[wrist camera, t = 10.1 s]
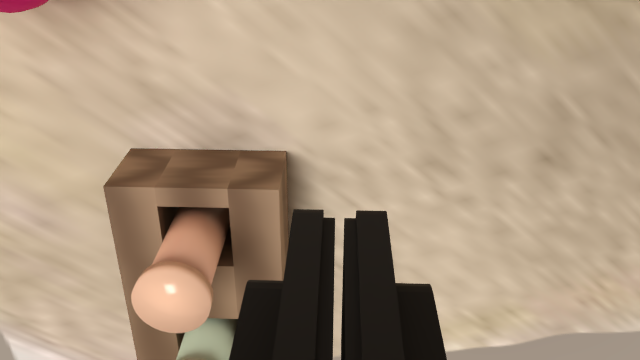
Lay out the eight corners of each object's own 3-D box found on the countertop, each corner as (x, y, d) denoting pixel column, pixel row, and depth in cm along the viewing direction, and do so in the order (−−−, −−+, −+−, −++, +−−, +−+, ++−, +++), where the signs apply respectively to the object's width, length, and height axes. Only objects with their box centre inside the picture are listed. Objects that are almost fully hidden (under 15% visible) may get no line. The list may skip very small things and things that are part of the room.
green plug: (246, 275, 51) (225, 369, 41) (249, 319, 53) (230, 416, 44) (190, 274, 51) (157, 367, 42) (196, 317, 53) (165, 414, 44)
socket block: (286, 151, 45) (278, 189, 40) (291, 329, 54) (285, 380, 49) (130, 148, 46) (103, 186, 41) (160, 326, 54) (140, 376, 49)
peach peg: (235, 185, 44) (206, 272, 35) (239, 239, 46) (213, 334, 37) (171, 184, 44) (125, 270, 35) (178, 237, 46) (137, 332, 37)
